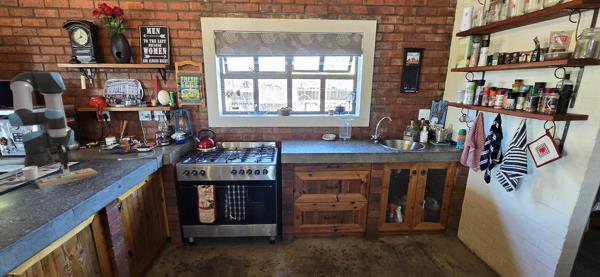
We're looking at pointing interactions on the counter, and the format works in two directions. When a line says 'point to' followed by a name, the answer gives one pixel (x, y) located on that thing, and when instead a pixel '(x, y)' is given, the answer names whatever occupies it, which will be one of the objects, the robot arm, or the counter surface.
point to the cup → (29, 173)
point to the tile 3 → (83, 171)
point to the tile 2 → (66, 175)
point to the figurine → (126, 148)
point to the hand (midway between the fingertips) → (66, 173)
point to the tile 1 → (48, 179)
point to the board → (65, 179)
